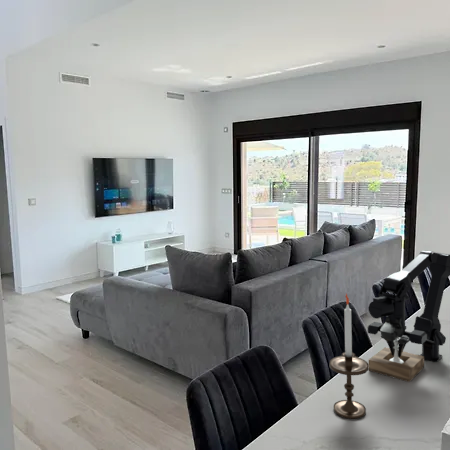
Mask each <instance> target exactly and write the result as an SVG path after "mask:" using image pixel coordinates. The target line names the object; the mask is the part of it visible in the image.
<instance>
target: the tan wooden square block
mask: <svg viewBox="0 0 450 450" xmlns="http://www.w3.org/2000/svg"><path fill="white" fill-rule="evenodd" d="M393 357H394V356H393V355H392V353H391V351H390V348H389V347H387V346H385V347H383V348H381V349H380V350H379V351H378V352H377V353H375V354H374V355H372V357H370V358H368V361H367V362H368V371H369V372H373V373H375V372H376V374H380V375H382V374H383V375H384V376H386V375H387V376H386V377H390V378H393V377H394V379H397V380H400V379H401V381H404V382H408V383H410V382H412V381H413V379H414V378H415V377H416V376H417V375H418V374H419V373H420V372H421V371H422V370H423V369H424V368H425V359H424V356H420V354H414V353H411V352H406V351H403V352H402V354H401V356H400V357H399V358H400V359H401V360H403V361H404V363H403V364H400V363H397V362H393V361H389V360H390V359H391V358H393ZM383 375H382V376H383Z"/></svg>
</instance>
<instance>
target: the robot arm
mask: <svg viewBox="0 0 450 450" xmlns="http://www.w3.org/2000/svg"><path fill="white" fill-rule="evenodd" d="M427 268H428V269H429V271H430V274H431V277H430V282H429V286H428V292H427V295H426V300H425V304H424V308H423V313H422V314H420V315H419V316H418V315H417V316H416V317H415V322H414V325H413V330H412V331H406V330H407V325H406V318H407V314H406V300H409V299H410V297H409V295H407V293H408V292H409V290H410V289H411V288H412V285H413V282H414V280H415V279H416V278H417V277H419V276H420V275H421V274H422V273H423V272H424V271H425V270H426V269H427ZM449 277H450V253H449V254H448V253H441V252H435V251H431V250H421V251H420V252H419V254H418V255H417V256H416V257H415V258H414V259H413V260H411V261H410V262H409V263H408V264H407V265H406V266H405V267H404V268H402V269H401V270H400V271H398V272H397V271H396V272H393V273H392V274H390V275H389V276H387V277H386V278H384V281H383V283H382V285H381V288H380V289H379V292H378V293H377V297H373V298H372V301H371V302H370V303H369V304H368V312H369V314H370V316H371V317H372V318H373V319H380V318H385V321H384V323H382V322H377V321H374V322H372V323H370V324H369V325H367V333H368V334H371V335H377V334H378V333H380V337H381V339H382V340H383V339H384V340H385V342H386V343H387V346H388V348H390V351H391V353H392V355H393V356H394V353H395V349H394V348H393V347H394V346H395V345H394V342H393V341H394V340H396V338H398V337H399V339H397V340H398V343H399V345H398V347H399V348H398V357H400V356H401V354H402V352H404V349H405V347H406V345H407V344H409V342H410V343H411V344H417V345H421V353H420V354H419V355H420V356H424V360H427V361H432V362H437V363H438V362H439V361H440V359H442V357H443V355H442V354H440V346H444V344H445V343H446V340H447V337H446V336H445V335H444V334H443V333H442V332H441V328H442V325H441V321H440V318H439V315H440V309H441V305H442V300H443V294H444V292H445V291H444V290H445V287H446V283H447V279H448V278H449Z"/></svg>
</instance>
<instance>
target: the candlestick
mask: <svg viewBox="0 0 450 450" xmlns="http://www.w3.org/2000/svg"><path fill="white" fill-rule="evenodd" d="M345 298H346V299H345V300H346V303H345V304H346V306H345V308H344V312H343V313H344V314H343V315H344V352H342V353H341V355H339V356H335V357H333V358H331V359H330V360H329V369H330V370H331V371H333V372H334V373H337V374H340V375H345V376H346V383H344V385H343V387H344V389H345V390H346V392H345V393H344V395H345V396H346V399H342V400H338V401H337V402H335V403H334V404H333V412H334V413H335V414H336V415H337V416H338V417H341V418H342V419H347V420H359V419H362V418H364V417H365V416H366V413H367V412H366V411H367V409H366V407H365V405H364V404H362V403H361V402H358V401H356V400H353V397H354V392H353V390H354V389H355V385H354V384H353V383H352V376H359V375H363V374H366V373H368V371H369V362H368V361H366V360H365V359H363V358H361V357H359V356H357V354H356V353H354V352H353V335H352V330H353V329H352V328H353V327H352V309H351V308H350V305H349V303H350V299H349V297H348V293H345Z"/></svg>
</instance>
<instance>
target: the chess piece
mask: <svg viewBox="0 0 450 450" xmlns="http://www.w3.org/2000/svg"><path fill="white" fill-rule="evenodd" d="M399 339H400V337H398V338H396V340H394V341H393V342H394V345H395V346H394V347H393V348H394V349H395V353H394V357H393V358H391V359H390V360H389V361H393V362H397V363H400V364H403V363H404V361H403V360H401V359H400V358H399V357H398V348H399V343H398V340H399Z"/></svg>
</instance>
